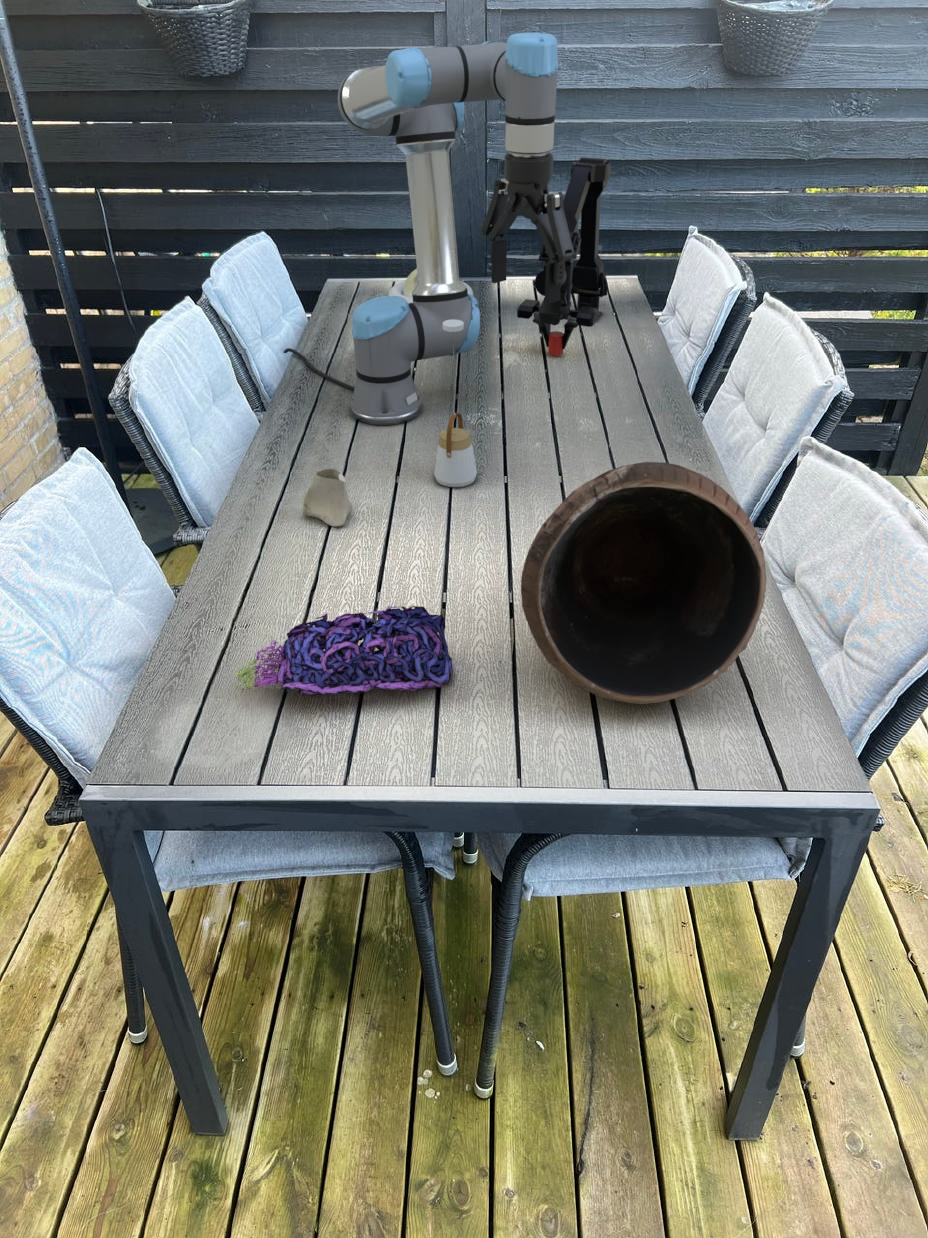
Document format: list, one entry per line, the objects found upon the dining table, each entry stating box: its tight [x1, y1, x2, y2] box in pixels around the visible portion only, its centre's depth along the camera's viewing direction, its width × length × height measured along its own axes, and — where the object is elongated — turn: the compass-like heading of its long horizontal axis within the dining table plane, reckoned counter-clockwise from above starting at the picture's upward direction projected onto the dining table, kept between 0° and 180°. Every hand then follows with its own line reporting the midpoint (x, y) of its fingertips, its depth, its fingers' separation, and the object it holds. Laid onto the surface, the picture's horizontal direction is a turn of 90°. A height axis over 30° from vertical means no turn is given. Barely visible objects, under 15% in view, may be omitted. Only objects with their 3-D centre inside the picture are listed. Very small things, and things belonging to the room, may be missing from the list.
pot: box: [520, 461, 767, 705], centre depth 132 cm, size 32×32×30 cm
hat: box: [387, 268, 474, 303], centre depth 239 cm, size 25×22×15 cm
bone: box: [301, 468, 353, 528], centre depth 164 cm, size 9×8×10 cm
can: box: [547, 330, 564, 357], centre depth 225 cm, size 4×4×5 cm
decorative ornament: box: [235, 605, 454, 697], centre depth 129 cm, size 13×11×30 cm
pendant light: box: [433, 319, 478, 488], centre depth 169 cm, size 8×8×30 cm
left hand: (524, 291), depth 156 cm, fingers open, 13 cm apart
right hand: (555, 347), depth 226 cm, fingers closed on can, 4 cm apart
